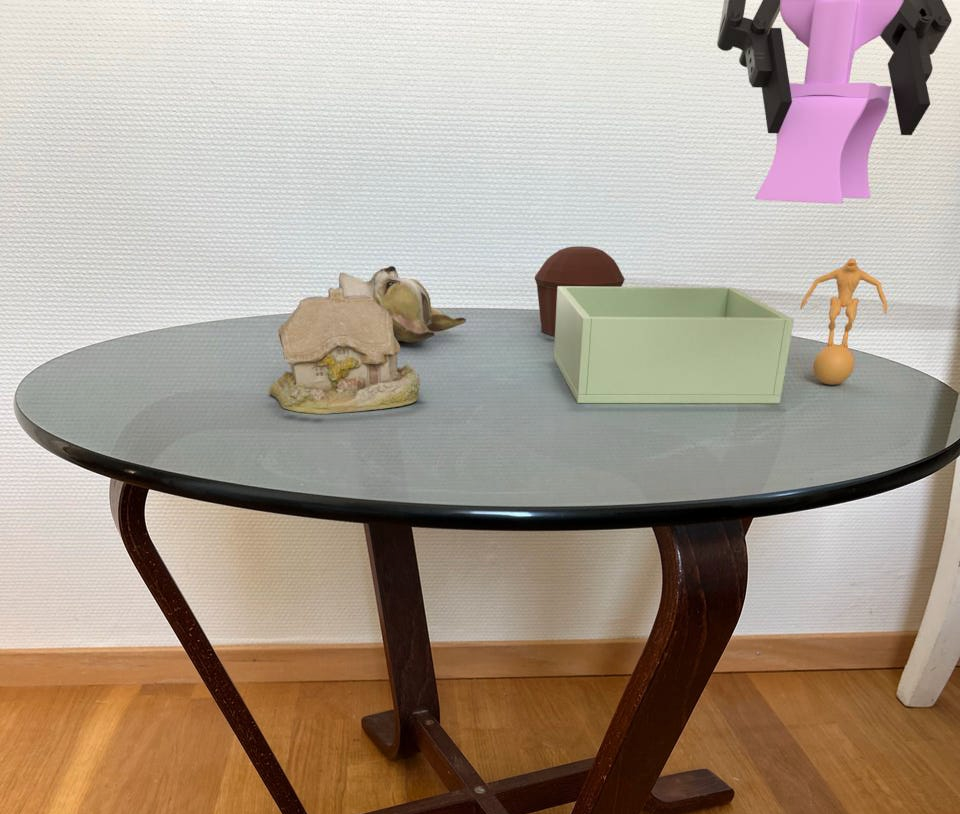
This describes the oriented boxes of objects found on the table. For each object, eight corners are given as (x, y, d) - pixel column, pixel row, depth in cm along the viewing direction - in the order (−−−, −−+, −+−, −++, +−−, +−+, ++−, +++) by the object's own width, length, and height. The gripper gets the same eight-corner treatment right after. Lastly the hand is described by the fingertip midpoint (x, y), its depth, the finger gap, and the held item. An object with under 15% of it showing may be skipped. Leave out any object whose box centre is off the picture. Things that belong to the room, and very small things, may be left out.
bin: (724, 359, 107) (733, 287, 104) (780, 403, 90) (794, 319, 86) (553, 358, 106) (557, 286, 103) (577, 403, 89) (582, 317, 85)
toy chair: (885, 198, 72) (933, -41, 65) (856, 204, 66) (906, -61, 58) (778, 193, 76) (812, -33, 69) (741, 198, 70) (774, -51, 62)
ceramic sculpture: (361, 253, 117) (471, 269, 112) (361, 325, 121) (467, 343, 117) (316, 264, 108) (433, 281, 104) (317, 340, 113) (430, 360, 108)
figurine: (788, 385, 97) (809, 260, 91) (788, 372, 102) (808, 254, 96) (873, 392, 95) (900, 264, 89) (869, 378, 100) (895, 257, 94)
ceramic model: (269, 416, 84) (257, 298, 79) (269, 386, 93) (258, 279, 88) (425, 410, 86) (423, 295, 81) (409, 381, 96) (407, 277, 91)
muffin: (597, 344, 114) (603, 256, 109) (516, 334, 119) (519, 249, 114) (633, 329, 123) (641, 246, 118) (557, 320, 128) (561, 241, 123)
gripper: (921, -65, 76) (969, 162, 70) (656, -72, 75) (681, 158, 69) (971, -168, 69) (1031, 75, 62) (679, -176, 68) (709, 69, 61)
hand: (848, 118), depth 66 cm, fingers closed on toy chair, 9 cm apart
